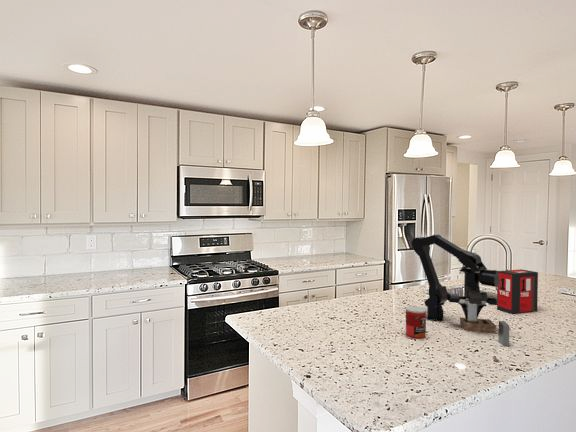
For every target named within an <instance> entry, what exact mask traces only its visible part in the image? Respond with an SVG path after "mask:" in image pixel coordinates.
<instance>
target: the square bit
mask: <svg viewBox="0 0 576 432" xmlns="http://www.w3.org/2000/svg"><path fill="white" fill-rule="evenodd" d="M465 303H466V304H467V319H466V322H469V323H477V319H478V318H477V305H476V304H470V303H469V302H465Z"/></svg>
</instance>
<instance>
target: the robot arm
mask: <svg viewBox="0 0 576 432" xmlns="http://www.w3.org/2000/svg"><path fill="white" fill-rule="evenodd" d="M410 243H411V248H412V249H413V251H414V253H415V254H417V256H418V257H419V259H420V263H421V266H422V268H423V272H424V275H425V277H426V280H427V283H428V298H427V299H425V300H424V305H425V307H426V319H427V320H428V321H440V322H442V321H444V309H443V306H444V305H445V303H446V302H447V301H448V302H449V303H453V304H458V305H459V306H460V307H461V309H462V311H463V314H464V318H466V319H467V304H466V303H467V302H468V303H470V304H476V305H477V319H479V315H480V313H481V312H482V310H483V308H484V307H487V304H488V305H490V306H497V298H496V297H495V296H494V295H488V292H483V291H482V292H481V290H480V288H481V287H480V284H481V286H488V287H495V288H497V287H498V285H499V283H500V278H499V274H498V271H499V270H497V269H488V268H487V267H486V265H485V264H484V263H483V261H482V257H481V256H480V255H479V254H478V253H475V252H473V251H469V250H465V249H463V248H461V247H460V246H458V245H456V244H454V243H453V242H452V241H449V240H448V239H446V238H444V237H443V236H442V235H440V234H431V235H429V236H419V237H414V238H413V239H412V241H411V242H410ZM432 245H436V246H438V247H439V248H441V249H442V250H444V251H445V252H447V253H448V254H451V255H452V256H454V257H455V258H456V259H457V260H458V261H459V263H461V264H462V265H463V266H462V268H460V269H459V272H461V273H464V281H463V282H464V283H463V289H464V290H463V291H464V292H463V295H462V296H461V295H459V294H458V293H450V292H448V291H447V290H448V289H447V286H446V285H442V284H441V282H440V280H439V278H438V275H437V272H436V269H435V266H434V263H433V260H432V258H431V257H432V256H431V255H430V253H431V247H430V246H432Z"/></svg>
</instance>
